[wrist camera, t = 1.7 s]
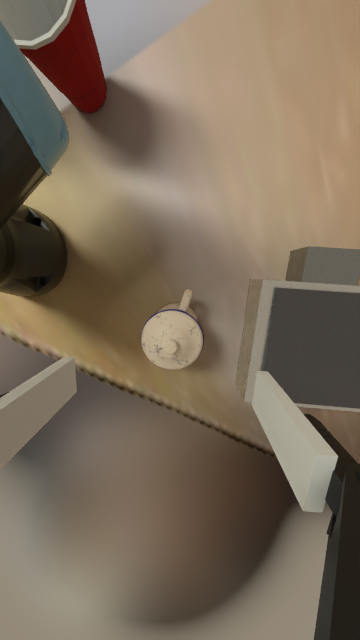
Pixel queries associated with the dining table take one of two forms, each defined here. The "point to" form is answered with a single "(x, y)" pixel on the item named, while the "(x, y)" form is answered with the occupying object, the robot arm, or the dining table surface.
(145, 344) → the teacup with lid
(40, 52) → the plastic cup
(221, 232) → the dining table surface
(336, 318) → the white flat block
